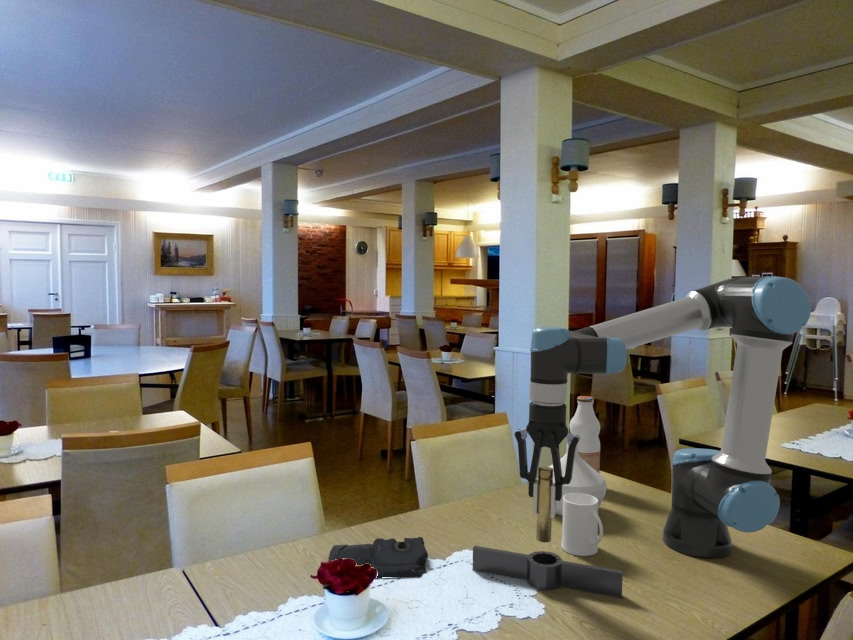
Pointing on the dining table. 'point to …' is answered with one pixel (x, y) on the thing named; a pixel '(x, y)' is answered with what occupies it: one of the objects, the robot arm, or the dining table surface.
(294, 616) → the dining table surface
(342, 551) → the dark slate chunk
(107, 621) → the dining table surface
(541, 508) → the pin
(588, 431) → the fruit juice
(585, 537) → the mug
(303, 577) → the dining table surface
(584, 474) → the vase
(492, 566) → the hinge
